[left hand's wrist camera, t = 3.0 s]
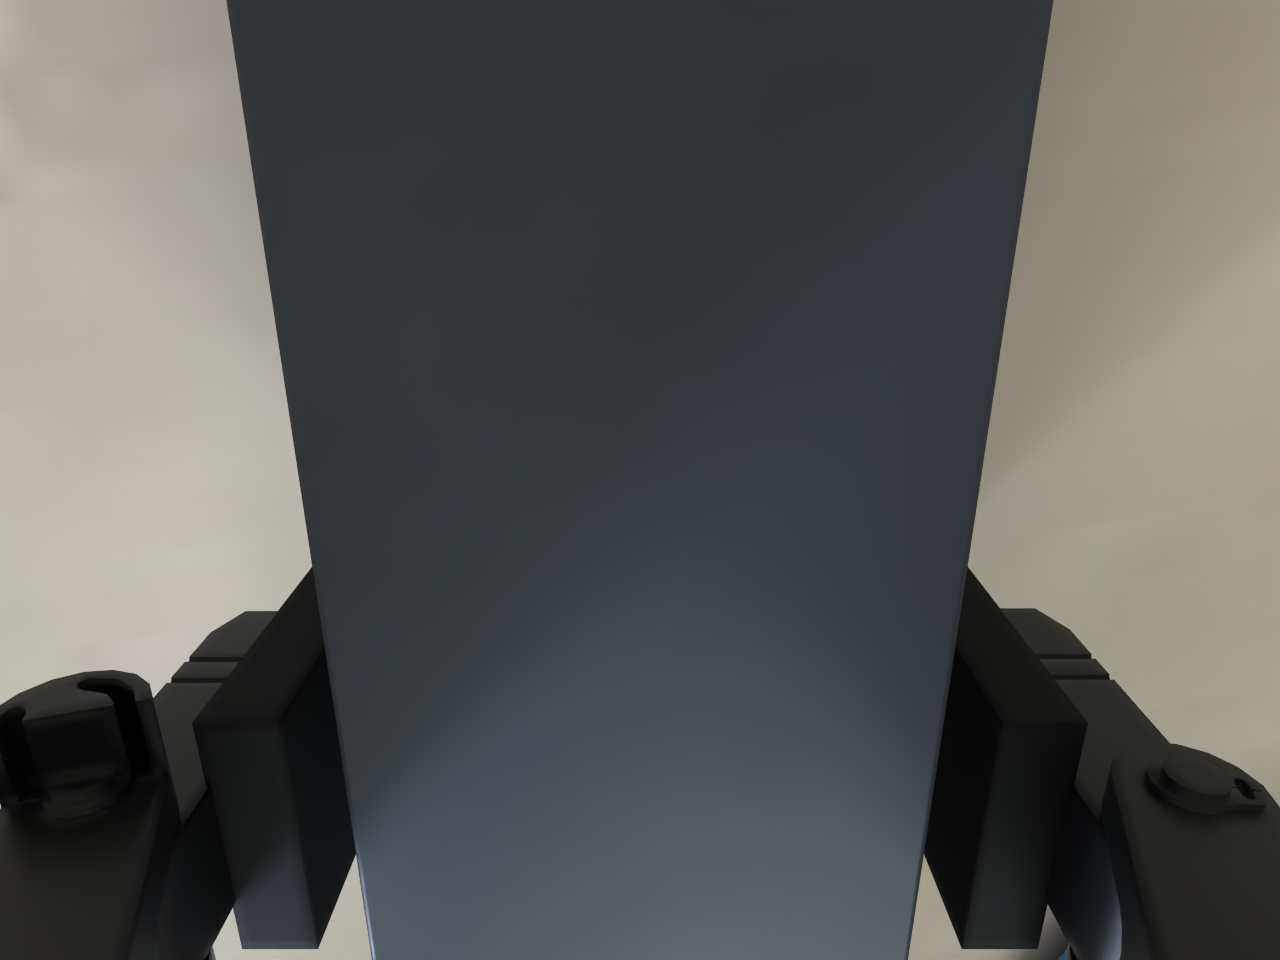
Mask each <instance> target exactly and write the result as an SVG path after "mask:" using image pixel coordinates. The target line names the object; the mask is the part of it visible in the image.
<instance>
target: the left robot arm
mask: <svg viewBox="0 0 1280 960" xmlns="http://www.w3.org/2000/svg"><path fill="white" fill-rule="evenodd" d="M171 679H172V680H171V683H166V684H165V686H164V687H163V688H162V689H161V690H160V691H159V692H158V694H157V695H156V696H155V697H154V698H153V697H152V693H151V688H150V684H149V683H148V682H146V681H145V680H144V679H142V678H141V677H139V676H138V675H137V674H133V673H127V672H122V671H116V670H107V671H93V672H82V673H78V674H74V675H70V676H66V677H62V678H58V679H54V680H50V681H48V682H45V683H43V684H40V685H38V686H36V687H33V688H31V689H28V690H26V691H24V692H21V693H19V694H17V695H16V696H14V697H13V698H11V699H9V700H8V701H6V702H5V703H3V704H1V705H0V804H1V809H0V960H216V959H215V955H214V950H213V946H212V945H213V943H214V942H215V940H216V938H217V936H218V934H219V932H220V930H221V928H222V926H223V925H224V923H225V921H226V919H227V917H228V915H229V913H230V911H231V910H232V908H233V909H234V913H235V918H236V922H237V927H238V931H239V936H240V940H241V945H242V949H318V948H319V945H320V943H321V940H322V938H323V935H324V933H325V930H326V928H327V925H328V923H329V920H330V918H331V915H332V913H333V910H334V907H335V905H336V902H337V900H338V897H339V895H340V892H341V890H342V887H343V885H344V882H345V880H346V877H347V875H348V872H349V870H350V867H351V865H352V862H353V860H354V857H355V855H356V850H355V843H354V837H353V830H352V823H351V817H350V810H349V804H348V797H347V791H346V784H345V777H344V771H343V764H342V758H341V751H340V744H339V738H338V731H337V725H336V718H335V711H334V705H333V698H332V692H331V685H330V679H329V672H328V665H327V659H326V652H325V646H324V639H323V632H322V626H321V619H320V613H319V606H318V599H317V593H316V586H315V580H314V573H313V567H312V568H311V569H310V570H309V572H308V573H307V574H306V576H305V577H304V578H303V579H302V581H301V582H300V583H299V585H298V586H297V587H296V588H295V590H294V591H293V592H292V594H291V595H290V596H289V598H288V599H287V600H286V601H285V603H284V604H283V605H282V607H281V608H280V609H279V611H245V612H244V613H242V614H240V615H239V616H237V617H235V618H234V619H232V620H231V621H229V622H227V623H226V624H224V625H222V626H221V627H219V628H217V629H216V630H214V631H213V632H211V633H210V634H209V635H208V636H207V638H206V639H205V640H204V641H203V642H202V643H201V644H200V646H199V647H198V648H197V649H196V650H195V651H194V652H193V654H192V655H191V656H190V657H189V662H185V663H184V664H183V665H182V666H181V667H180V668H179V670H178V671H177V672H176V673H175V674H174V675H173V676H172V678H171ZM924 855H925V857H926V860H927V862H928V865H929V867H930V870H931V872H932V875H933V877H934V880H935V882H936V885H937V887H938V890H939V892H940V895H941V898H942V900H943V903H944V905H945V908H946V910H947V913H948V915H949V918H950V920H951V923H952V925H953V928H954V930H955V933H956V935H957V938H958V940H959V943H960V945H961V948H962V949H1038V945H1039V940H1040V936H1041V931H1042V927H1043V922H1044V918H1045V913H1046V909H1047V904H1048V905H1049V907H1050V909H1051V911H1052V913H1053V914H1054V916H1055V918H1056V920H1057V922H1058V924H1059V926H1060V928H1061V929H1062V931H1063V933H1064V935H1065V937H1066V939H1067V941H1068V946H1067V950H1066V955H1065V959H1064V960H1280V807H1279V806H1278V804H1277V803H1276V802H1275V800H1274V799H1273V798H1272V796H1271V795H1270V794H1269V793H1268V791H1267V790H1266V789H1265V787H1264V786H1263V785H1261V784H1260V783H1259V782H1257V781H1256V780H1255V779H1253V778H1252V777H1251V776H1249V775H1248V774H1247V773H1245V772H1244V771H1242V770H1241V769H1240V768H1238V767H1236V766H1234V765H1232V764H1230V763H1228V762H1226V761H1224V760H1222V759H1220V758H1218V757H1215V756H1213V755H1211V754H1209V753H1206V752H1203V751H1199V750H1196V749H1192V748H1189V747H1185V746H1181V745H1178V744H1170V743H1169V742H1168V741H1167V739H1166V738H1165V737H1164V736H1163V735H1162V734H1161V733H1160V732H1159V730H1158V729H1157V728H1156V727H1155V726H1154V725H1153V724H1152V722H1151V721H1150V720H1149V719H1148V718H1147V717H1146V716H1145V714H1144V713H1143V712H1142V711H1141V710H1140V709H1139V708H1138V707H1137V705H1136V704H1135V703H1134V702H1133V701H1132V700H1131V699H1130V697H1129V696H1128V695H1127V694H1126V693H1125V692H1124V691H1123V690H1122V688H1121V687H1120V686H1119V685H1118V684H1117V683H1116V682H1115V680H1110V678H1109V674H1108V673H1107V671H1106V670H1105V669H1104V668H1103V667H1102V666H1101V665H1100V663H1099V662H1098V661H1097V660H1096V659H1092V658H1091V653H1090V652H1089V651H1088V650H1087V649H1086V648H1085V646H1084V645H1083V644H1082V643H1081V642H1080V641H1079V640H1078V638H1077V637H1076V636H1075V635H1074V634H1073V633H1072V632H1071V631H1070V629H1068V628H1066V627H1065V626H1063V625H1061V624H1060V623H1058V622H1056V621H1055V620H1053V619H1051V618H1050V617H1048V616H1047V615H1045V614H1043V613H1042V612H1040V611H1038V610H1037V609H1000V608H999V607H998V605H997V604H996V603H995V601H994V600H993V599H992V598H991V596H990V595H989V594H988V592H987V591H986V590H985V589H984V587H983V586H982V585H981V583H980V582H979V581H978V579H977V578H976V577H975V576H974V574H973V573H972V572H971V570H970V569H969V568H968V566H967V572H966V579H965V586H964V592H963V599H962V605H961V612H960V619H959V625H958V632H957V638H956V645H955V652H954V658H953V665H952V671H951V678H950V685H949V691H948V698H947V704H946V711H945V717H944V724H943V731H942V737H941V744H940V750H939V757H938V764H937V770H936V777H935V783H934V790H933V797H932V803H931V810H930V816H929V823H928V830H927V836H926V843H925V849H924Z"/></svg>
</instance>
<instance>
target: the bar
mask: <svg viewBox="0 0 1280 960" xmlns="http://www.w3.org/2000/svg"><path fill="white" fill-rule="evenodd" d="M227 6H228V13H229V20H230V26H231V33H232V39H233V46H234V53H235V59H236V66H237V72H238V79H239V86H240V92H241V99H242V105H243V112H244V118H245V125H246V132H247V138H248V145H249V151H250V158H251V165H252V171H253V178H254V184H255V191H256V198H257V204H258V211H259V217H260V224H261V230H262V237H263V244H264V250H265V257H266V263H267V270H268V277H269V283H270V290H271V296H272V303H273V310H274V316H275V323H276V329H277V336H278V342H279V349H280V356H281V362H282V369H283V375H284V382H285V389H286V395H287V402H288V408H289V415H290V422H291V428H292V435H293V441H294V448H295V455H296V461H297V468H298V474H299V481H300V487H301V494H302V501H303V507H304V514H305V520H306V527H307V534H308V540H309V547H310V553H311V560H312V567H313V573H314V580H315V586H316V593H317V599H318V606H319V613H320V619H321V626H322V632H323V639H324V646H325V652H326V659H327V665H328V672H329V679H330V685H331V692H332V698H333V705H334V711H335V718H336V725H337V731H338V738H339V744H340V751H341V758H342V764H343V771H344V777H345V784H346V791H347V797H348V804H349V810H350V817H351V823H352V830H353V837H354V843H355V850H356V856H357V863H358V870H359V876H360V883H361V889H362V896H363V903H364V909H365V916H366V922H367V929H368V936H369V942H370V949H371V955H372V960H908V955H909V948H910V942H911V935H912V928H913V922H914V915H915V909H916V902H917V895H918V889H919V882H920V876H921V869H922V862H923V856H924V849H925V843H926V836H927V830H928V823H929V816H930V810H931V803H932V797H933V790H934V783H935V777H936V770H937V764H938V757H939V750H940V744H941V737H942V731H943V724H944V717H945V711H946V704H947V698H948V691H949V685H950V678H951V671H952V665H953V658H954V652H955V645H956V638H957V632H958V625H959V619H960V612H961V605H962V599H963V592H964V586H965V579H966V572H967V566H968V559H969V553H970V546H971V540H972V533H973V526H974V520H975V513H976V507H977V500H978V493H979V487H980V480H981V474H982V467H983V460H984V454H985V447H986V441H987V434H988V427H989V421H990V414H991V408H992V401H993V394H994V388H995V381H996V375H997V368H998V362H999V355H1000V348H1001V342H1002V335H1003V329H1004V322H1005V315H1006V309H1007V302H1008V296H1009V289H1010V282H1011V276H1012V269H1013V263H1014V256H1015V249H1016V243H1017V236H1018V230H1019V223H1020V217H1021V210H1022V203H1023V197H1024V190H1025V184H1026V177H1027V170H1028V164H1029V157H1030V151H1031V144H1032V137H1033V131H1034V124H1035V118H1036V111H1037V104H1038V98H1039V91H1040V85H1041V78H1042V71H1043V65H1044V58H1045V52H1046V45H1047V39H1048V32H1049V25H1050V19H1051V12H1052V6H1053V0H227Z"/></svg>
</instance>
